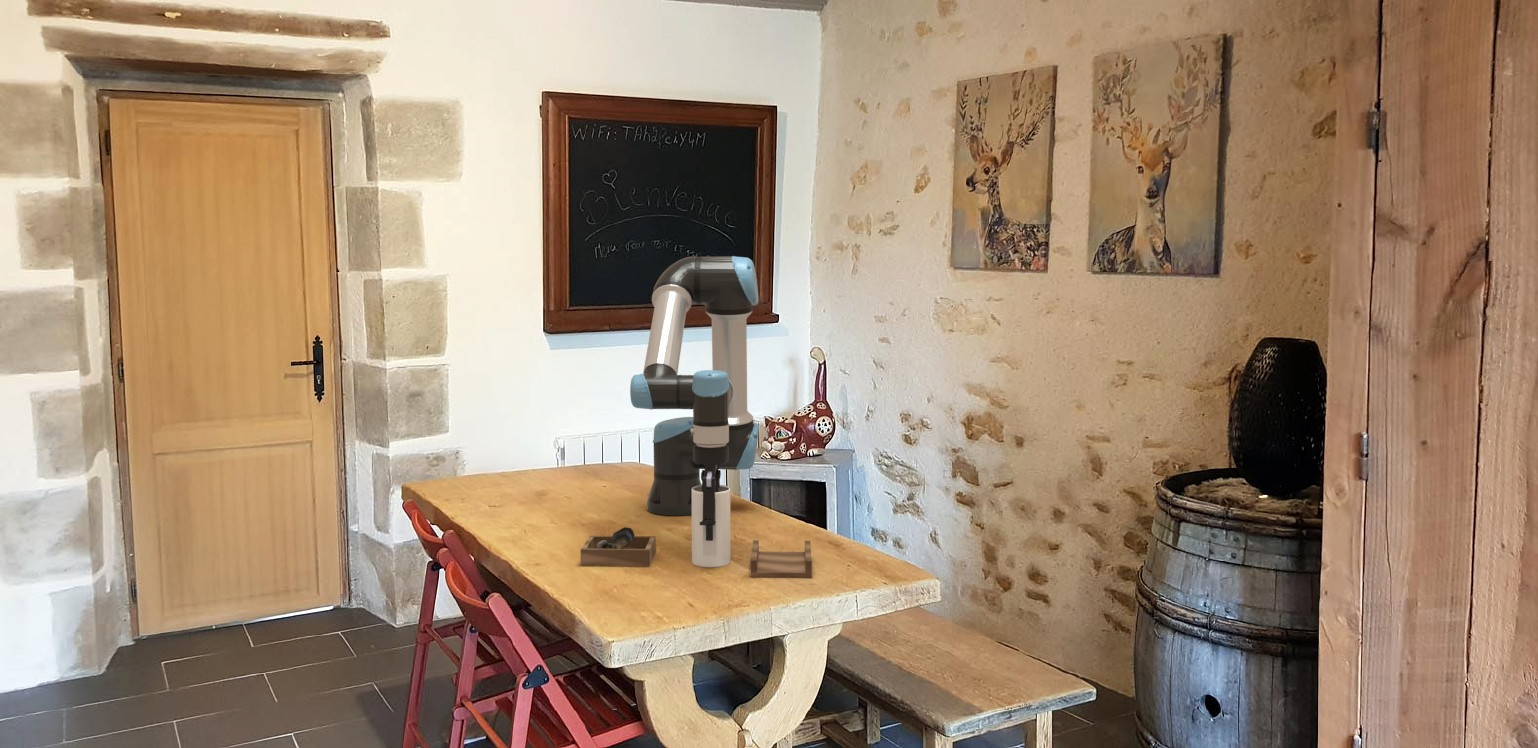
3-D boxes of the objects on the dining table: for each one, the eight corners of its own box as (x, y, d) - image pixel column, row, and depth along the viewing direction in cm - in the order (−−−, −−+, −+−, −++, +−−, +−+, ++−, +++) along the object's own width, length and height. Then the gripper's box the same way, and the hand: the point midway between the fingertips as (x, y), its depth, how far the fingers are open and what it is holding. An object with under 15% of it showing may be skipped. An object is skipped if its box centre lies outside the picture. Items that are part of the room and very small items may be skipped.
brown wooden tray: (753, 555, 248) (753, 540, 248) (810, 556, 248) (810, 540, 248) (750, 577, 232) (750, 560, 232) (811, 577, 232) (811, 561, 232)
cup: (696, 568, 238) (696, 493, 237) (688, 558, 246) (687, 485, 244) (734, 565, 241) (734, 491, 239) (725, 555, 249) (725, 483, 247)
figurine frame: (590, 551, 252) (589, 535, 251) (655, 551, 251) (655, 536, 251) (580, 566, 240) (580, 549, 240) (649, 566, 240) (649, 550, 240)
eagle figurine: (636, 559, 241) (642, 541, 250) (616, 533, 240) (624, 515, 248) (607, 577, 243) (614, 558, 251) (587, 551, 241) (595, 532, 250)
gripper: (697, 435, 251) (697, 536, 254) (688, 453, 230) (689, 562, 233) (731, 435, 251) (731, 536, 254) (725, 453, 230) (726, 563, 233)
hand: (711, 549), depth 243 cm, fingers closed on cup, 8 cm apart
